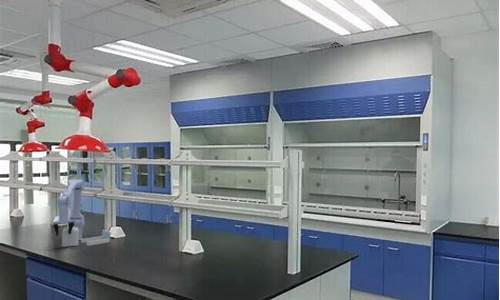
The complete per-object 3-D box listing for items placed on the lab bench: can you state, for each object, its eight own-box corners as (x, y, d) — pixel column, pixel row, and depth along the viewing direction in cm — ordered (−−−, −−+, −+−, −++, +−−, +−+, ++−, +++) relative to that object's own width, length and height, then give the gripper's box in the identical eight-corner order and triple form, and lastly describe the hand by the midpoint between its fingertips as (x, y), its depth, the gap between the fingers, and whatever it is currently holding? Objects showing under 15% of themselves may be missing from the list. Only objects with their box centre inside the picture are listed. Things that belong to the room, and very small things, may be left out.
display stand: (81, 242, 268) (81, 232, 268) (103, 239, 279) (103, 229, 279) (87, 245, 259) (87, 235, 259) (110, 242, 270) (110, 232, 270)
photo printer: (78, 244, 262) (78, 226, 263) (79, 245, 259) (79, 227, 259) (61, 246, 257) (61, 228, 257) (62, 247, 253) (62, 228, 254)
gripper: (53, 216, 244) (53, 237, 244) (77, 213, 254) (77, 234, 254) (50, 214, 249) (50, 235, 249) (73, 212, 259) (73, 232, 259)
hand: (63, 234), depth 252 cm, fingers open, 7 cm apart
